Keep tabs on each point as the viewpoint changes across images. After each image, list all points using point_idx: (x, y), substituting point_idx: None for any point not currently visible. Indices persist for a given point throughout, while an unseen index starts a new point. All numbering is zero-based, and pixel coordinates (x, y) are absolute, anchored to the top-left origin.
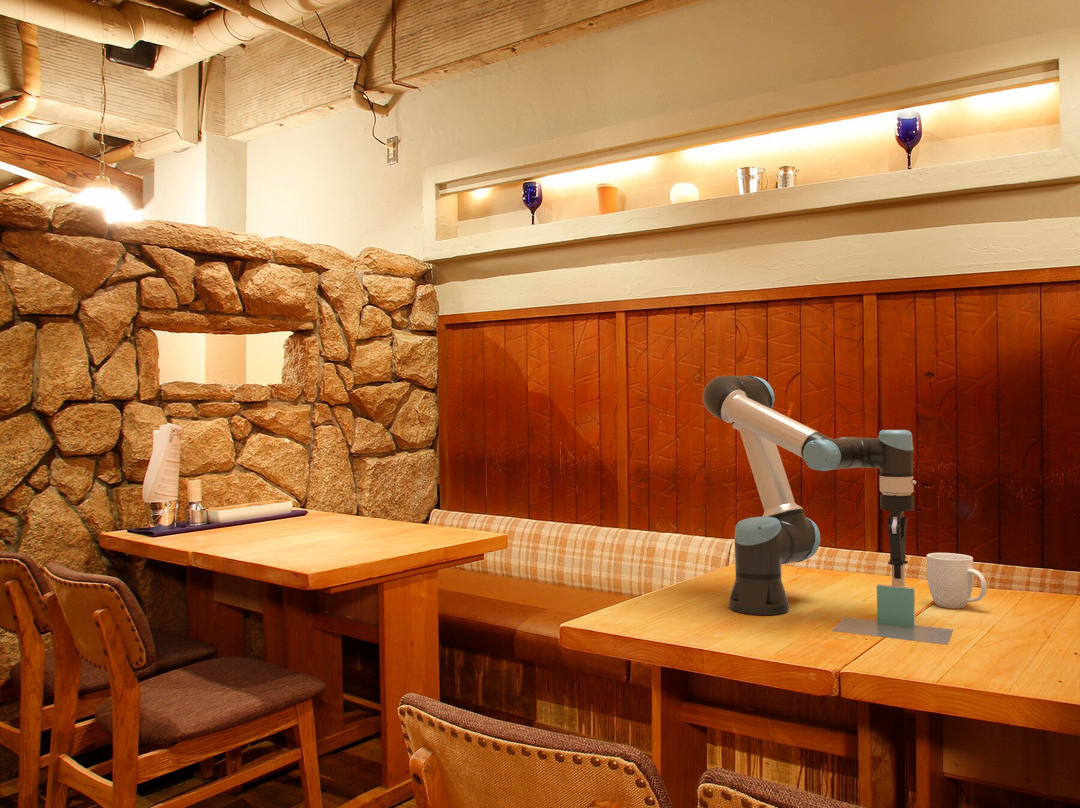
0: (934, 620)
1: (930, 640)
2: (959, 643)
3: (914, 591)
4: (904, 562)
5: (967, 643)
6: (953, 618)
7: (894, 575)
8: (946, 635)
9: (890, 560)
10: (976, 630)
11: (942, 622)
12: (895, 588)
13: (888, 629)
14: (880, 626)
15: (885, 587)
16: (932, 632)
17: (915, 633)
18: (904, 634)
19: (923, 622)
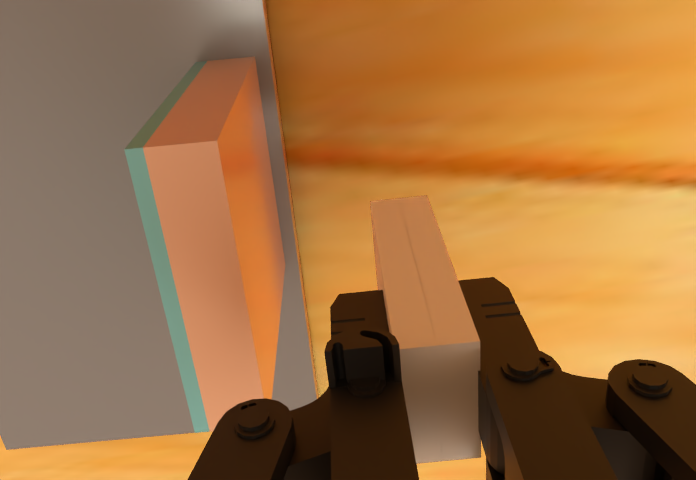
0: (574, 288)
1: (22, 382)
2: (160, 449)
3: None
4: (486, 475)
5: (184, 471)
6: (663, 352)
7: (331, 316)
8: (178, 417)
9: (235, 425)
10: (450, 463)
11: (544, 327)
12: (167, 305)
13: (90, 161)
14: (131, 100)
15: (146, 226)
16: None
17: (108, 301)
18: (41, 261)
19: (497, 251)
